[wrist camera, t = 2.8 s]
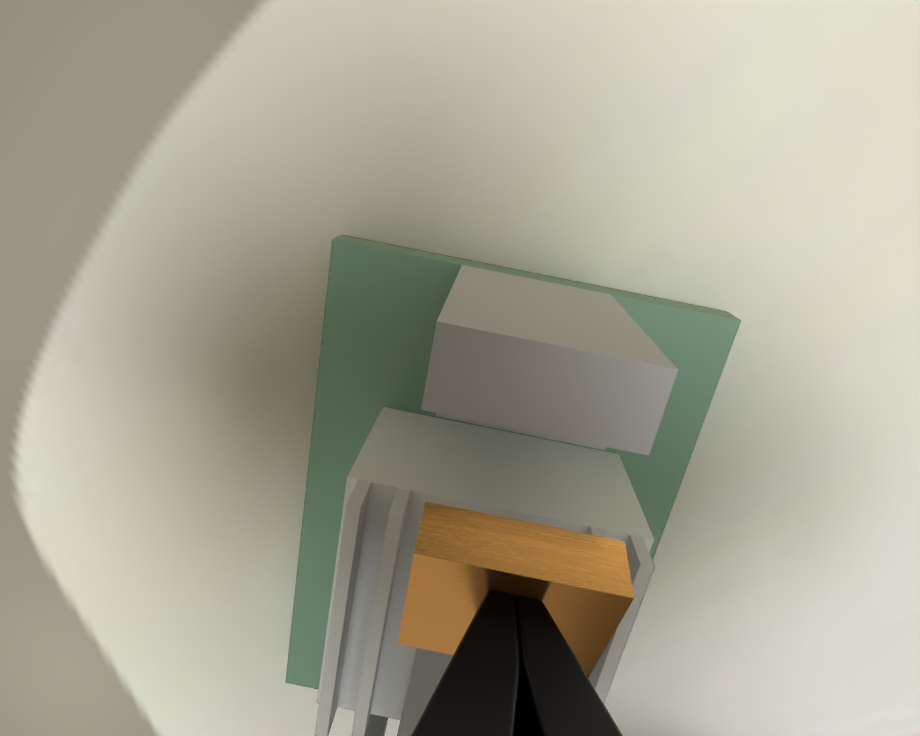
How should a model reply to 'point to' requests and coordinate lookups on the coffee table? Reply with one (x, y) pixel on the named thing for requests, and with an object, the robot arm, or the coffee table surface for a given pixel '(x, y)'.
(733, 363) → the coffee table surface
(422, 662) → the orange tipped gray lever
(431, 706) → the robot arm
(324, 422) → the heatsink board
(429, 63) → the coffee table surface
